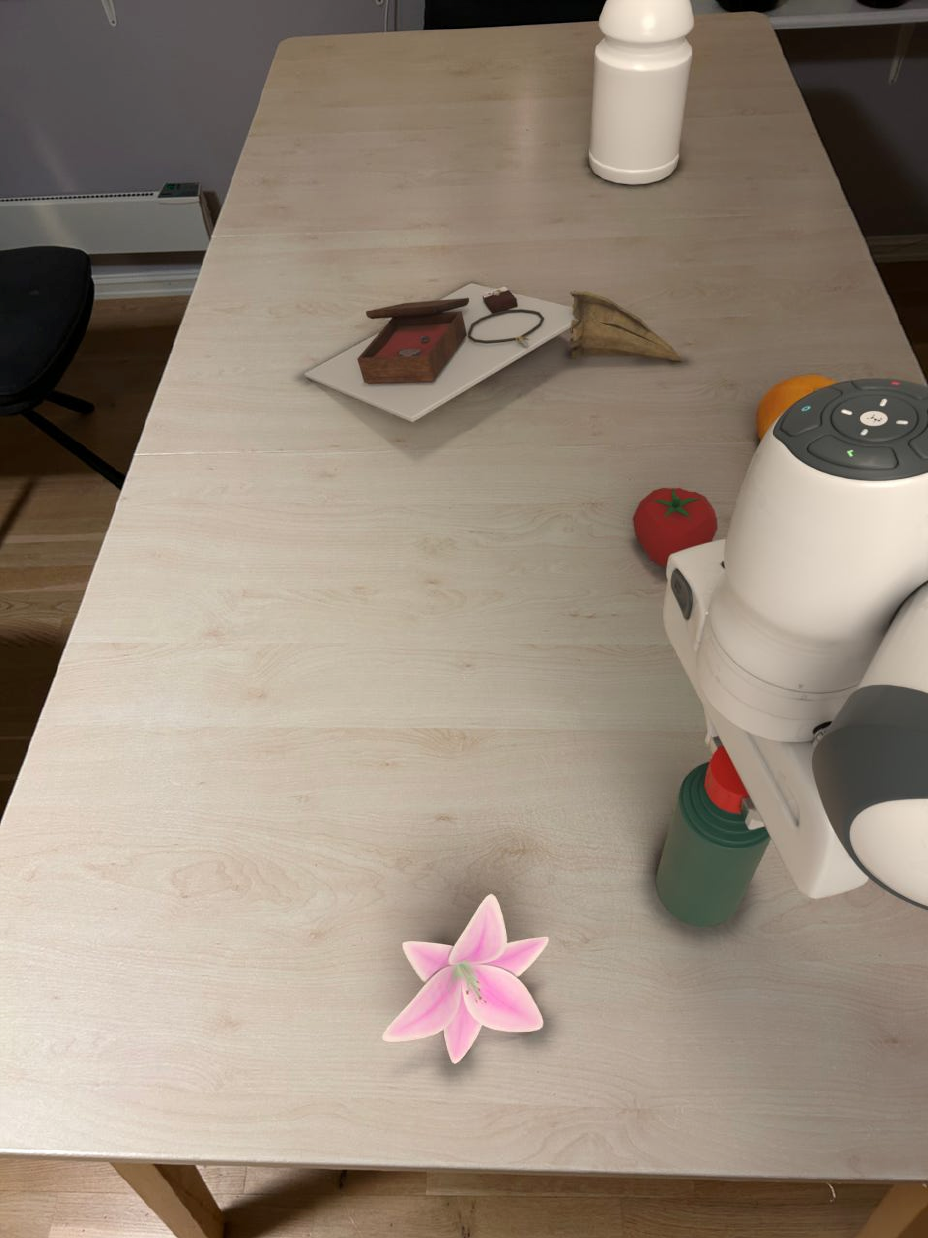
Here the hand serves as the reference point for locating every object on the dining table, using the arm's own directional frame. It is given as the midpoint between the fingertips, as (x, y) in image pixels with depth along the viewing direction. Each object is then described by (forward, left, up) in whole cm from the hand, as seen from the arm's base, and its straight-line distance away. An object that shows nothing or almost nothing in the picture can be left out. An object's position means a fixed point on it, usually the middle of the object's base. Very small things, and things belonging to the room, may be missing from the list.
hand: (737, 782), depth 60 cm
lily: (+11, +17, -17) cm, 26 cm away
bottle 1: (+56, -104, -17) cm, 119 cm away
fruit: (+11, -53, -17) cm, 57 cm away
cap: (0, 0, +2) cm, 2 cm away
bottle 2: (0, 0, -17) cm, 17 cm away
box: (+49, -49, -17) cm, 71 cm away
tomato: (+17, -32, -17) cm, 40 cm away
